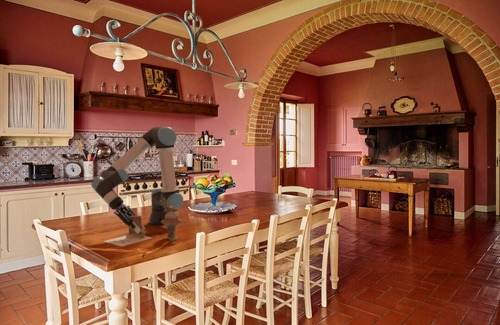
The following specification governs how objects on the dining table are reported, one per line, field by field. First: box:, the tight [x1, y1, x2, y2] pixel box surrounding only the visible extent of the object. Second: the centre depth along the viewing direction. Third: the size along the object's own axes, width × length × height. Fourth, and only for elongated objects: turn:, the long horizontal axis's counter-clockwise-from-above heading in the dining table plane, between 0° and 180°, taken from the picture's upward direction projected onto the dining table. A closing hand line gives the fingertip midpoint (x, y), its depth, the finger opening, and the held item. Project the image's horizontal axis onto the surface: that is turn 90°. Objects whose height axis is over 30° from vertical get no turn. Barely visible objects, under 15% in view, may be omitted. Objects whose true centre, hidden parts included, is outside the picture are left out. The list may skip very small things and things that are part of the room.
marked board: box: [103, 235, 152, 247], centre depth 190 cm, size 20×16×1 cm
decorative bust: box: [160, 198, 183, 242], centre depth 195 cm, size 11×13×25 cm
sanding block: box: [125, 215, 146, 239], centre depth 194 cm, size 4×9×12 cm, turn 81°
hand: (141, 230), depth 193 cm, fingers closed on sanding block, 4 cm apart
